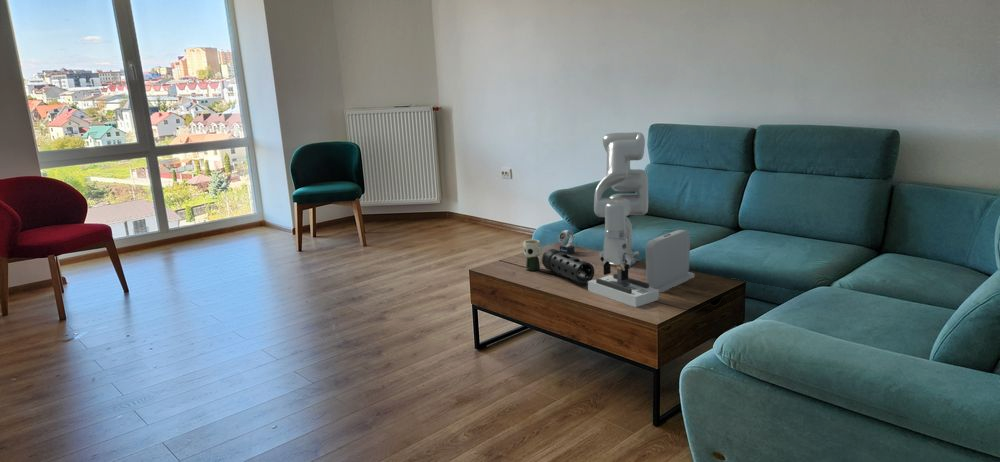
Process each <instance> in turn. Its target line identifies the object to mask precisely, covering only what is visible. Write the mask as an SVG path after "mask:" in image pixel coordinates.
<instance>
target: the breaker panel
mask: <svg viewBox="0 0 1000 462" xmlns="http://www.w3.org/2000/svg"><path fill="white" fill-rule="evenodd" d="M596 279H602V280H605V281H608V282H611V283H614V284H615V283H617V279H615V278H613V275H611V274H607V275H604V276H602V277H597V278H595V279H592V280H591V281H588V283H587V290H588V292H591V293H593V294H596V295H599V296H602V297H605V298H608V299H611V300H613V301H617V302H619V303H622V304H625V305H628V306H631V307H633V308H638V307H641V306H644V305H647V304H650V303H654V302H655V301H659V293H658V289H654V288H651V287H649V288H644V287H640V286H637V285H634V284H631V283H630V285H627V286H623V287H627V288H630V289H632V293H631V294H628V293H625V292H622V291H619V290H616V289H613V288H610V287H607V286H604V285H601V284H598V283H596ZM627 283H628V282H627Z"/></svg>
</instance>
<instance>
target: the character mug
mask: <svg viewBox="0 0 1000 462" xmlns="http://www.w3.org/2000/svg"><path fill="white" fill-rule="evenodd" d="M522 246H523V247H522V248H523V249H522V250H523V254H524V256H525V257H526V263H525V264H526V265H525V270H528V271H537V270H539V269H540V268H541V265H540V259H539V256H540V255H542V247H541V241H540V240H538V239H527V240H524V241H523V244H522Z"/></svg>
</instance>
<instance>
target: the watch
mask: <svg viewBox="0 0 1000 462" xmlns="http://www.w3.org/2000/svg"><path fill="white" fill-rule="evenodd" d="M568 233H569V234H568ZM568 235H569V237H568ZM557 238H558V239H557V240H558V242H559V245H561V246H559V251H561V252H562V253H565V254H567V255H571V254H575V246H574V245H572V244H573V242H574V240H575V236H574V233H573V231H572V230H568V229H565V230H562V231H561V232H560V233H559V234H558V236H557ZM567 239H568V242H567V244H565V242H566V241H567Z"/></svg>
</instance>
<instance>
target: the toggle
mask: <svg viewBox="0 0 1000 462" xmlns="http://www.w3.org/2000/svg"><path fill="white" fill-rule="evenodd" d="M623 265H624V264H623ZM624 267H625V265H624ZM616 269H617V270H616V272H617V273H616V274H617V283H615V284H617V285H620V286H627V285H630V283H627V279H626V280H621V270H622V267H621V266H620V265H619V266H616Z"/></svg>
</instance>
